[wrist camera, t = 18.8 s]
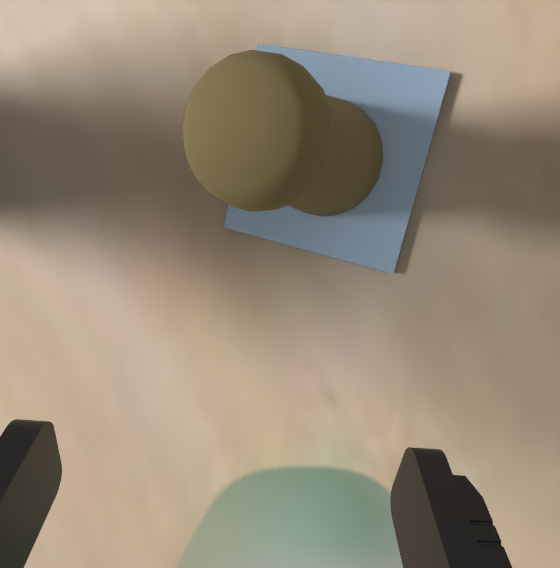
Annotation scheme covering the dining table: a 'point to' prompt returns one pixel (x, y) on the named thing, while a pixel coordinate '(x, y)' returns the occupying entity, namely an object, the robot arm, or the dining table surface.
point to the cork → (278, 138)
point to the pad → (395, 169)
